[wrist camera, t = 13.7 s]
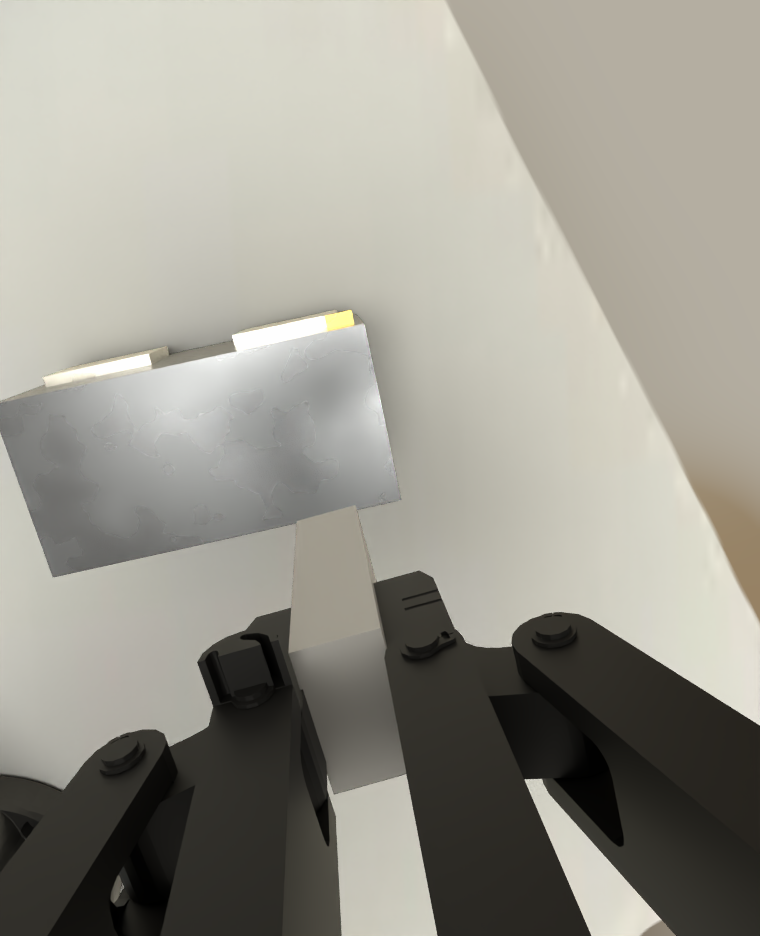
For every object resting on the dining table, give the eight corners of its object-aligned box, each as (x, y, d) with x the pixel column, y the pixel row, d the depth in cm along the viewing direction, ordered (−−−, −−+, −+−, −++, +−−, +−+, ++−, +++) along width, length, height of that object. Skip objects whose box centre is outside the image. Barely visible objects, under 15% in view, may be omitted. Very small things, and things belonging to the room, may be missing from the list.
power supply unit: (111, 513, 40) (53, 577, 32) (62, 365, 38) (-15, 390, 29) (385, 453, 41) (401, 500, 32) (353, 302, 38) (361, 309, 30)
